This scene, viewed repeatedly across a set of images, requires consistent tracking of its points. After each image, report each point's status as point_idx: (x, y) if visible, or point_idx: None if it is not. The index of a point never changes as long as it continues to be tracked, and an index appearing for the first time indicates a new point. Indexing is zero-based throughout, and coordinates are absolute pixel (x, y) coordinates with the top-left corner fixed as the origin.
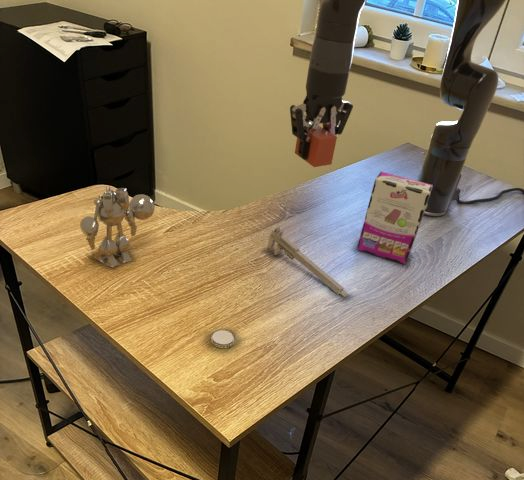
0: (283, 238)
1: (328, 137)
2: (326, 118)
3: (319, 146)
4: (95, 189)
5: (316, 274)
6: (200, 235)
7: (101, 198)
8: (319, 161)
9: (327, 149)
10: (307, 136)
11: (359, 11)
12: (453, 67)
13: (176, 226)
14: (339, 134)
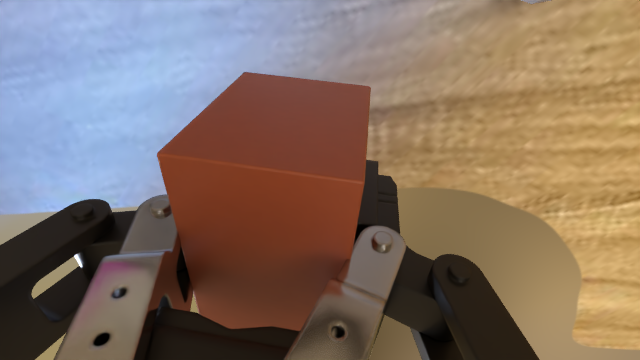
0: None
1: (247, 175)
2: (180, 357)
3: (350, 144)
4: (596, 343)
5: None
6: (600, 149)
7: None
8: (335, 93)
9: (269, 118)
10: (396, 260)
11: None
12: None
13: (606, 202)
14: (99, 201)
